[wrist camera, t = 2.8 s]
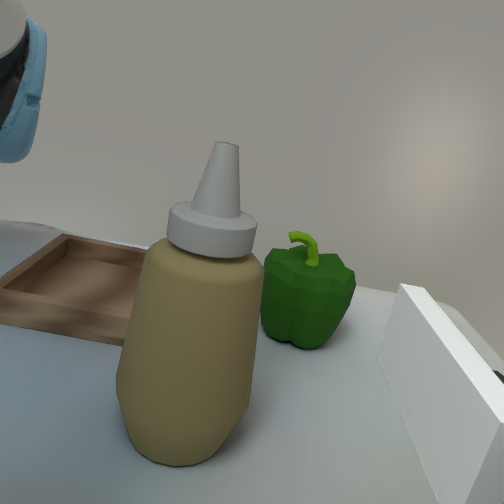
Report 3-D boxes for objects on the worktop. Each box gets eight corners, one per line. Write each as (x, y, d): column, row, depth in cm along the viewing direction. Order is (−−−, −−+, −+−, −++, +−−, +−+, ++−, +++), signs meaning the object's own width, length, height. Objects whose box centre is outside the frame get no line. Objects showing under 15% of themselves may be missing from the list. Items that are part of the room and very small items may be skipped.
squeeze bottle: (81, 423, 28) (109, 122, 22) (180, 377, 35) (223, 131, 29) (169, 511, 24) (233, 164, 18) (265, 440, 30) (336, 165, 24)
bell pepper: (342, 329, 47) (369, 237, 44) (331, 370, 40) (363, 262, 36) (263, 304, 49) (284, 214, 46) (238, 339, 41) (261, 233, 38)
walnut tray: (-19, 319, 36) (-19, 291, 36) (61, 255, 51) (62, 233, 50) (171, 355, 37) (176, 327, 36) (197, 281, 51) (201, 260, 50)
